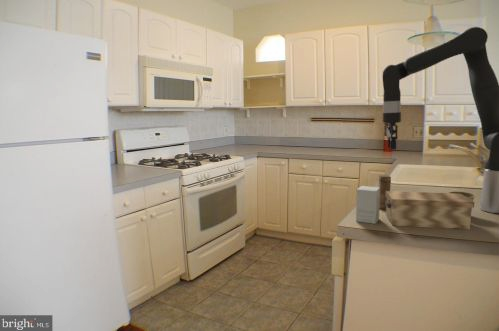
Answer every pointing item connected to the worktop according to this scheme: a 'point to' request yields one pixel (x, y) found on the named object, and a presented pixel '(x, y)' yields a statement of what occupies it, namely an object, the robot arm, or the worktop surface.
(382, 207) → the wooden block
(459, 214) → the wooden chest
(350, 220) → the worktop surface
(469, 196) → the flower pot
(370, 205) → the supplement box
